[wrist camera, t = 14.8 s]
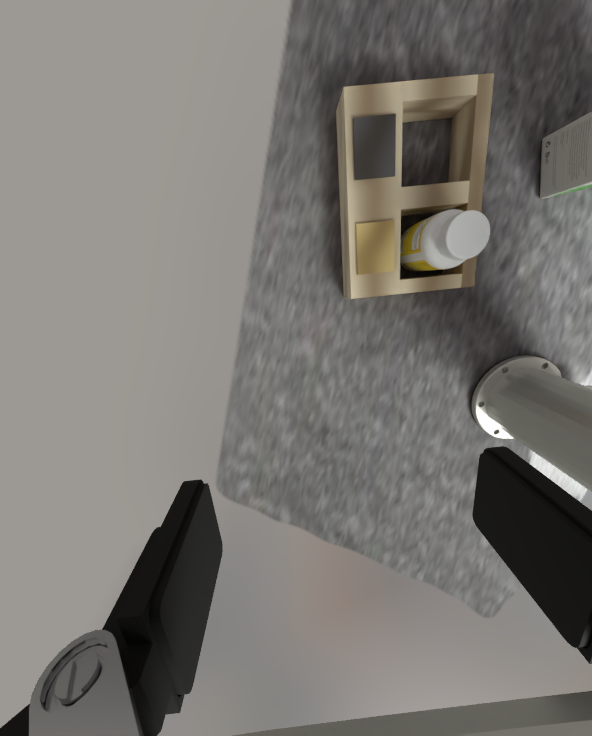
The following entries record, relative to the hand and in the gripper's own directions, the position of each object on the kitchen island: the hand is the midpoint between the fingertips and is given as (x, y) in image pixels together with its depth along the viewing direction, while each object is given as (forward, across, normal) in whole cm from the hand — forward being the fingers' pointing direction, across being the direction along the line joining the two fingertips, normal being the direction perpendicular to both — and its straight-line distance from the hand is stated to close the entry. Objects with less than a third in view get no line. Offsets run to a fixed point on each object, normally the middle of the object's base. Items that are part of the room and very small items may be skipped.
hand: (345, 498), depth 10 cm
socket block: (+28, -13, -14) cm, 34 cm away
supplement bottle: (+28, -15, -9) cm, 34 cm away
